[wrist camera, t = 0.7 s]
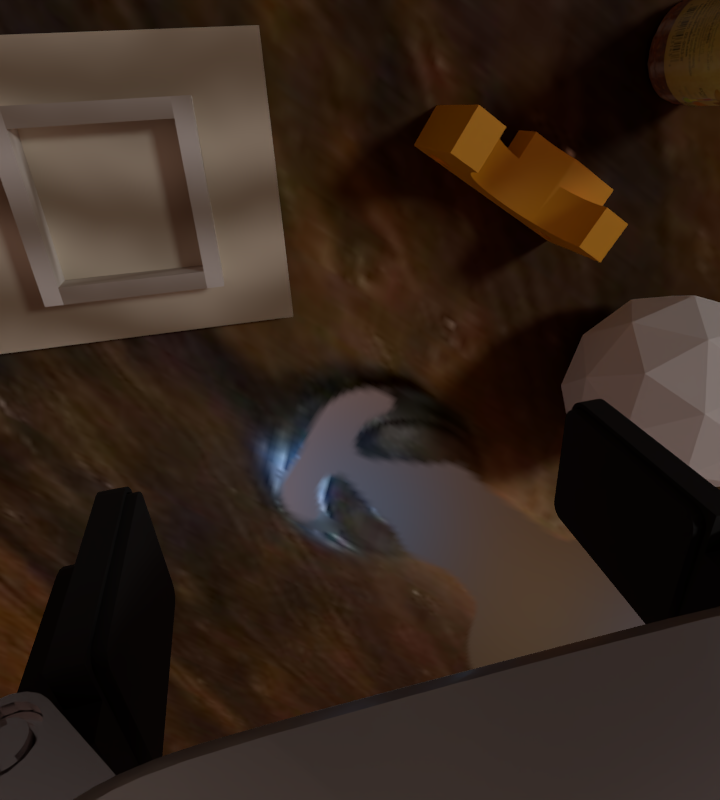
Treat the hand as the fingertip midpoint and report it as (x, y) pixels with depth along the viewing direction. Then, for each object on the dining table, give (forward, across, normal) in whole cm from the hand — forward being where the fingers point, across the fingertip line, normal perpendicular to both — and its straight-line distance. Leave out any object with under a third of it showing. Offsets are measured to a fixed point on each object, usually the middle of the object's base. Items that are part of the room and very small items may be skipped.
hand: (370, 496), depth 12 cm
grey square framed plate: (+26, +8, -3) cm, 28 cm away
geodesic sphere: (+27, -26, +12) cm, 39 cm away
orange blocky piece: (+27, -16, -3) cm, 31 cm away
